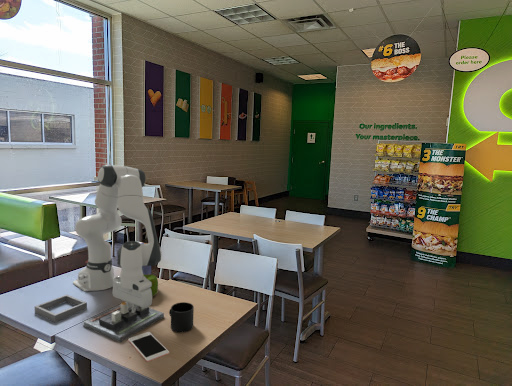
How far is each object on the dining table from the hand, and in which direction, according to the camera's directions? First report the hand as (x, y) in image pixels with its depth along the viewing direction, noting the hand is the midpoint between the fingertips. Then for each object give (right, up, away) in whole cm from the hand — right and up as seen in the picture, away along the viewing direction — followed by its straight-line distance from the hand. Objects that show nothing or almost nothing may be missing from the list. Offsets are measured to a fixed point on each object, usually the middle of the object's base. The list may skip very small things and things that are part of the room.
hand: (131, 311), depth 149 cm
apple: (-3, -2, +29) cm, 29 cm away
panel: (-4, -5, +3) cm, 7 cm away
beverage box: (-11, +1, +44) cm, 46 cm away
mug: (+20, -7, +1) cm, 22 cm away
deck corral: (-35, -3, +9) cm, 37 cm away
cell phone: (+12, -9, -15) cm, 21 cm away
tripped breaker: (-4, -1, +2) cm, 4 cm away
